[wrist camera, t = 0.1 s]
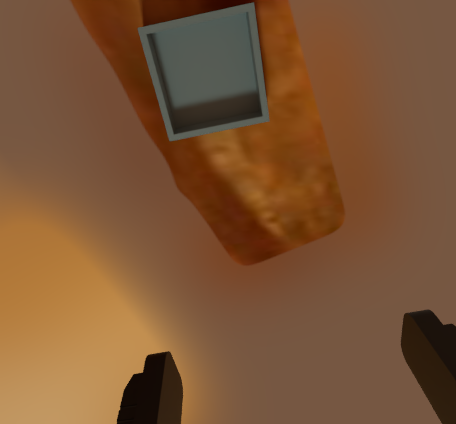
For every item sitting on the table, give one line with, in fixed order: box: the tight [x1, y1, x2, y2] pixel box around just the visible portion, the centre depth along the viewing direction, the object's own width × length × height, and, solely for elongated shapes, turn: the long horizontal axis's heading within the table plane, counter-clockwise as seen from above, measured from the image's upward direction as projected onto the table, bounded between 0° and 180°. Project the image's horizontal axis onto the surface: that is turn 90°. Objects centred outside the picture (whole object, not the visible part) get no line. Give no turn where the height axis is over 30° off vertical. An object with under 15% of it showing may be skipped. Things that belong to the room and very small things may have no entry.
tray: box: [138, 2, 269, 141], centre depth 33 cm, size 10×10×3 cm
